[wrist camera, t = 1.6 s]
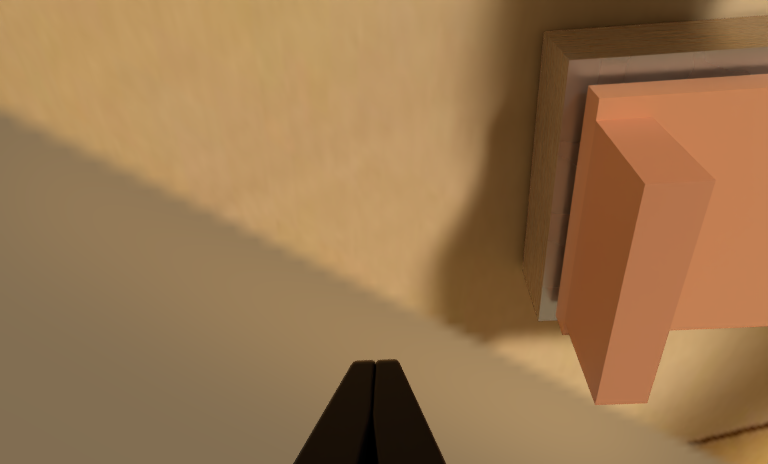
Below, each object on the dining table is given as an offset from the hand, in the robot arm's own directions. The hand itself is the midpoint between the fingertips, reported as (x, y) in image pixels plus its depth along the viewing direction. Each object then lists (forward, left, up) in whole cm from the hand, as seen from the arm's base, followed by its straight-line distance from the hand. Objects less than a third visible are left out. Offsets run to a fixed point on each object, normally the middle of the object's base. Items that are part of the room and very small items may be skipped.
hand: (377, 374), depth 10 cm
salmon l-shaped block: (-8, 0, -5) cm, 10 cm away
